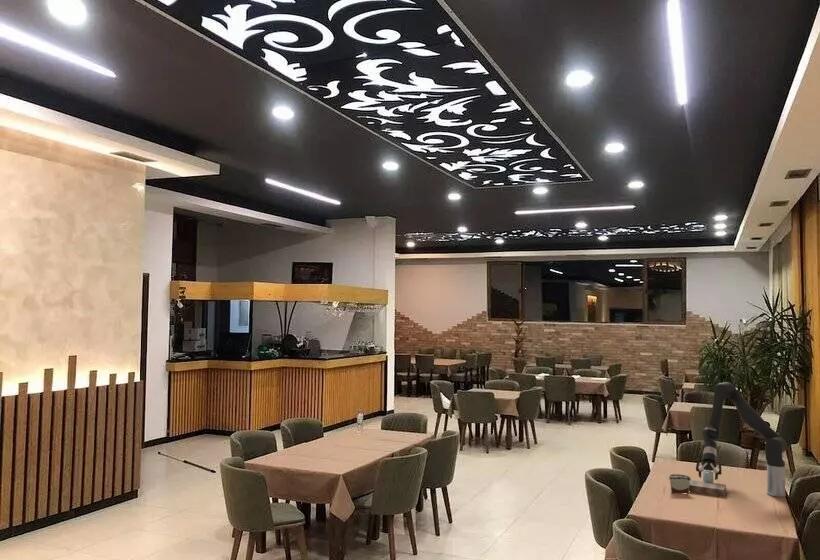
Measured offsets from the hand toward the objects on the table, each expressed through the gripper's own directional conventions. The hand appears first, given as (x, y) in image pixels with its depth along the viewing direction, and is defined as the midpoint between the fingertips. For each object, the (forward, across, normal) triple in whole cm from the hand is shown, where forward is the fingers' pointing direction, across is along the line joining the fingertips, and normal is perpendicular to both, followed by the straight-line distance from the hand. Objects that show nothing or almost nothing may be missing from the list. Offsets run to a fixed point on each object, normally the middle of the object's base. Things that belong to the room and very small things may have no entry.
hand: (708, 478), depth 390 cm
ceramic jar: (+4, 0, +4) cm, 5 cm away
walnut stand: (+12, 0, -4) cm, 13 cm away
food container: (+21, -14, -13) cm, 28 cm away
